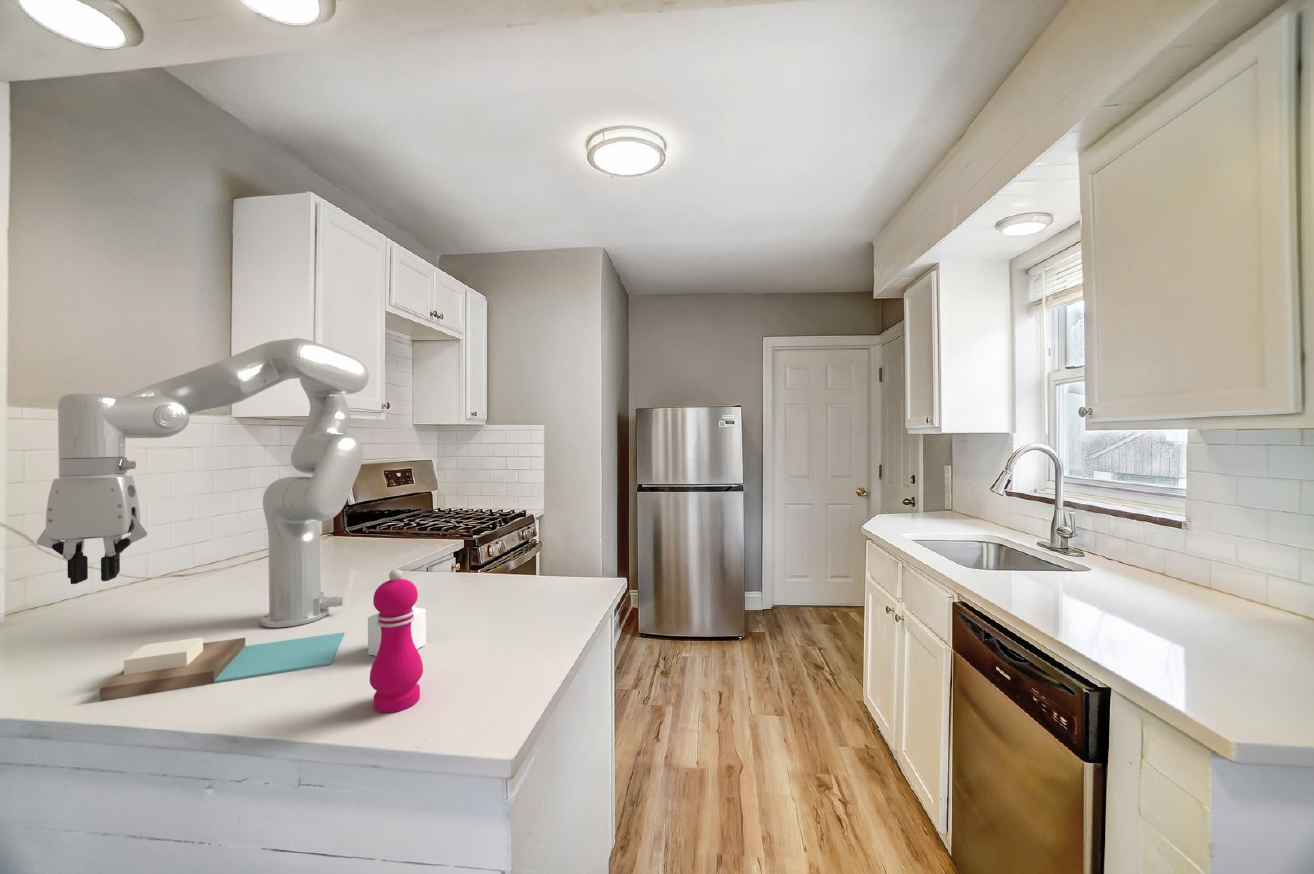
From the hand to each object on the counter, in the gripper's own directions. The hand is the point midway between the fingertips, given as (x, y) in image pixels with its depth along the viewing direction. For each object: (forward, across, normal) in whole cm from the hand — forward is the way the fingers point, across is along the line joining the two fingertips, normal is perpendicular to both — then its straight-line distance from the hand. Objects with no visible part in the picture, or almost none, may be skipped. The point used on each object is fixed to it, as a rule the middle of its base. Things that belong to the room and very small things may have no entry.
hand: (94, 579), depth 87 cm
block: (+14, -9, 0) cm, 17 cm away
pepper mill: (+17, -46, +28) cm, 57 cm away
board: (+17, -11, 0) cm, 20 cm away
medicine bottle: (+17, -45, +6) cm, 49 cm away
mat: (+17, -26, 0) cm, 31 cm away
